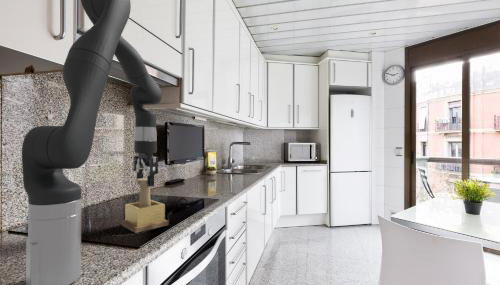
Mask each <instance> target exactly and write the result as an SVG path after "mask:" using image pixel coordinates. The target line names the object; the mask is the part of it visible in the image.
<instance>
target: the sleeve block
mask: <svg viewBox="0 0 500 285" xmlns="http://www.w3.org/2000/svg"><path fill="white" fill-rule="evenodd" d="M150 200H151V206H147V207H141V208H139V201H137V202H130V203H125V205H124V218H125V219H124V220H120V224H121V226H122V227H124V228H125V229H128V230H129V231H131V232H133V233H135V234H136V233H140V232H145V231H149V230H150V231H151V230H153V229H157V228H161V227H166V226H169V220H167V219H166V214H165V213H166V204H165V203H162V202H159V201H156V200H153V199H150Z"/></svg>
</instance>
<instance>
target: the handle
mask: <svg viewBox="0 0 500 285" xmlns="http://www.w3.org/2000/svg"><path fill="white" fill-rule="evenodd" d="M136 184H138V185H139V199H138V200H139V201H138V202H139V208H141V207H147V206H151V200H152V199H151V186H150V187H149V186H147V177H146V178H145V177H143V178H141V179H137V178H136Z"/></svg>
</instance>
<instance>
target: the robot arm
mask: <svg viewBox="0 0 500 285" xmlns="http://www.w3.org/2000/svg"><path fill="white" fill-rule="evenodd" d="M80 3H81V6H82V9H83V10H84V12H85V14H86V15H87V17H88V19H89V20H90V22H91V23H92V26H91V27H90V28H88V29H87V31H85V32H84V33H83V34H82V35H80V36H79V37H78V38H77V39H76V40H75V41H74V42H73V43H72V45H71V46H70V48H69V50H68V53H67V55H66V58H65V61H64V63H63V66H62V79H63V82H64V86H65V89H66V90H67V93H68V95H69V101H70V105H69V109H68V114H67V117H66V119H65V121H64V124H63V125H40V126H36V127H33V128H31V129H30V130H29V131H27V133H26V135H25V136H24V138H23V142H22V145H21V166H22V180H23V182H22V184H23V188H24V191H25V192H26V195H27V198H28V205H27V206H28V207H27V208H28V210H27V212H28V214H27V227H28V231H27V237H26V240H25V285H72V283H73V284H74V283H75V282H76V281H77V280H79V279H80V277H81V274H82V187H81V185H80V184H78V183H75V182H73V181H72V180H70V179H69V178H68V177H66V176H65V173H64V170H73V169H74V170H75V169H78V168H81V167H83V165H84V164H85V163H86V162H87V160H88V159H89V156H90V154H91V152H92V149H93V148H92V147H93V142H94V138H95V137H94V136H95V130H96V125H97V118H98V113H99V110H100V105H101V102H102V98H103V93H104V90H105V87H106V84H107V81H108V78H109V75H110V71H111V68H112V64H113V59H114V57H115V58H116V60H117V61H118V63H119V65H120V67H121V69H122V71H123V73H124V75H125V77H126V79H127V80H128V82H129V83H130V84H131V85H133V86H132V87H131V88H130V94H129V95H130V96H129V97H130V100H131V104H132V107H133V111H134V116H135V118H134V119H135V120H134V121H135V122H134V123H135V124H134V126H135V127H134V137H133V138H134V140H133V142H134V143H133V144H134V146H133V148H134V149H133V150H134V151H133V152H134V153H135V154H138V155H134V156H133V172H135V174H136V180H137V179H141V178H144V171H145V172H146V175H147V177H146V178H147V186H149V187H150V188H151V187H154V186H155V176H156V175H158V174H159V158H158V156H154V154H156V153H157V150H158V146H157V143H158V141H157V136H158V132H157V113H156V112H154V111H151V110H147V109H146V107H145V105H157V104H160V102H161V100H162V97H163V95H162V94H163V93H162V90H161V87H160V86H159V85H158V83H157V82H156V81H155V79H154V78H153V77H152V75H150V73H149V71H148V69H147V66H146V64H145V62H144V60H143V58H142V56H141V54H140V53H139V52H138V50H137V49H136V48H135V47H134V46H133V45H131V44H130V43H129V42H128V41H127V40H126V39H125V38H124V37H123V36H122V34H123V32H124V29H125V28H126V26H127V23H128V21H129V18H130V15H131V11H132V10H131V7H132V6H131V5H132V3H131V0H80Z"/></svg>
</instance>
